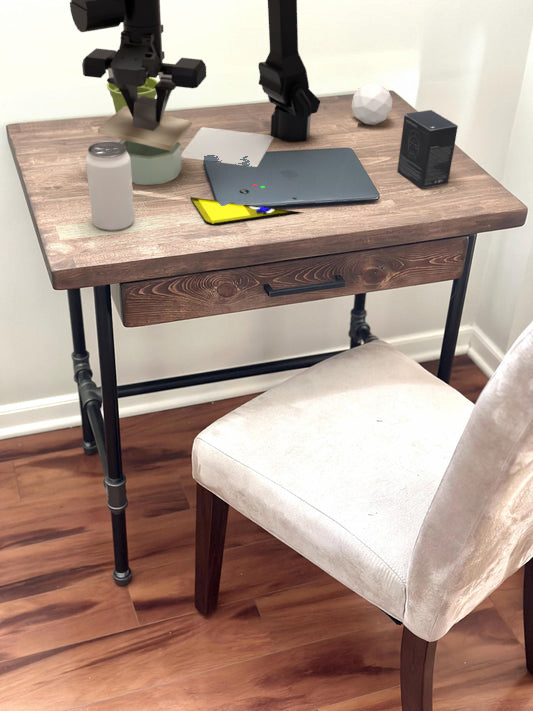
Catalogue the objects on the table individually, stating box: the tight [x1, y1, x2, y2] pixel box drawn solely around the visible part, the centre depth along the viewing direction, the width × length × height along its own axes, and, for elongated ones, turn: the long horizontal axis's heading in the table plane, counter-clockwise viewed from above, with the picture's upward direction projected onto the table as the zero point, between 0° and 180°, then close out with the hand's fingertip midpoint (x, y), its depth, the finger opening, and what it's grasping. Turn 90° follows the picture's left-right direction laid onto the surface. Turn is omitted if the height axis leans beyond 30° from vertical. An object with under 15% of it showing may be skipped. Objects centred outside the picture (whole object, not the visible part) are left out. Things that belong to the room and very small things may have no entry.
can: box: [85, 140, 135, 232], centre depth 130 cm, size 6×6×12 cm
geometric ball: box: [350, 82, 394, 126], centre depth 167 cm, size 8×8×8 cm
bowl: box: [119, 139, 183, 186], centre depth 146 cm, size 10×10×6 cm
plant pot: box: [106, 77, 159, 114], centre depth 160 cm, size 9×9×9 cm
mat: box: [181, 126, 275, 168], centre depth 156 cm, size 14×14×1 cm
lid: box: [97, 96, 193, 151], centre depth 141 cm, size 12×12×5 cm
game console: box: [190, 184, 304, 227], centre depth 140 cm, size 18×11×2 cm, turn 112°
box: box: [397, 109, 459, 189], centre depth 147 cm, size 8×6×11 cm
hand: (147, 120), depth 141 cm, fingers closed on lid, 4 cm apart
